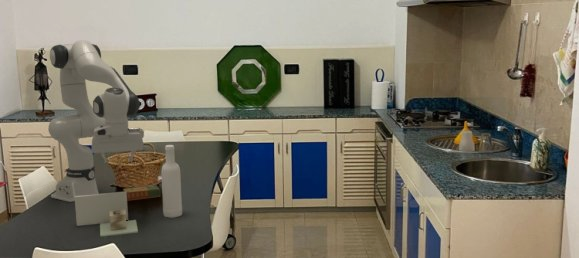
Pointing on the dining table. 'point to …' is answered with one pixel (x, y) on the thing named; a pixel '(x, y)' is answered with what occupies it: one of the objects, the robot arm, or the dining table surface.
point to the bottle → (171, 185)
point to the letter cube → (118, 220)
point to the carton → (142, 192)
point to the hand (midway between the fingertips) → (118, 162)
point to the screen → (99, 207)
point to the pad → (106, 230)
